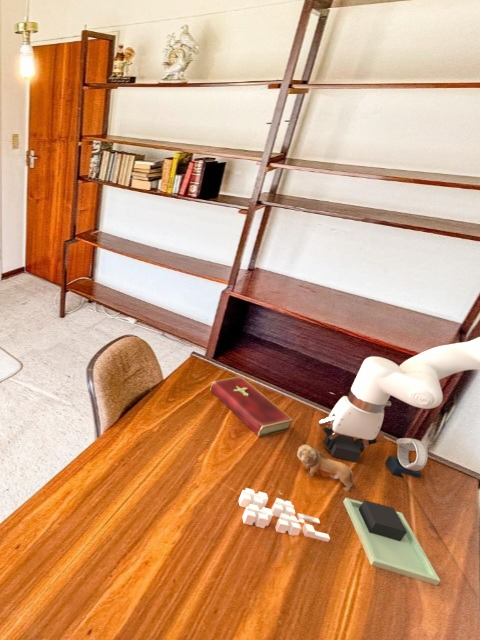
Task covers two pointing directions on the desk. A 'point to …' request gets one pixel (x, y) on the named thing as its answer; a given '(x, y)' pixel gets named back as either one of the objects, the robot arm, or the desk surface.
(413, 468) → the watch
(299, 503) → the desk surface
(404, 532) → the black square block
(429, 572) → the pale green flat tray
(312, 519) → the modular blocks
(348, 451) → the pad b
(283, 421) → the hardcover book
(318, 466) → the lion figurine
